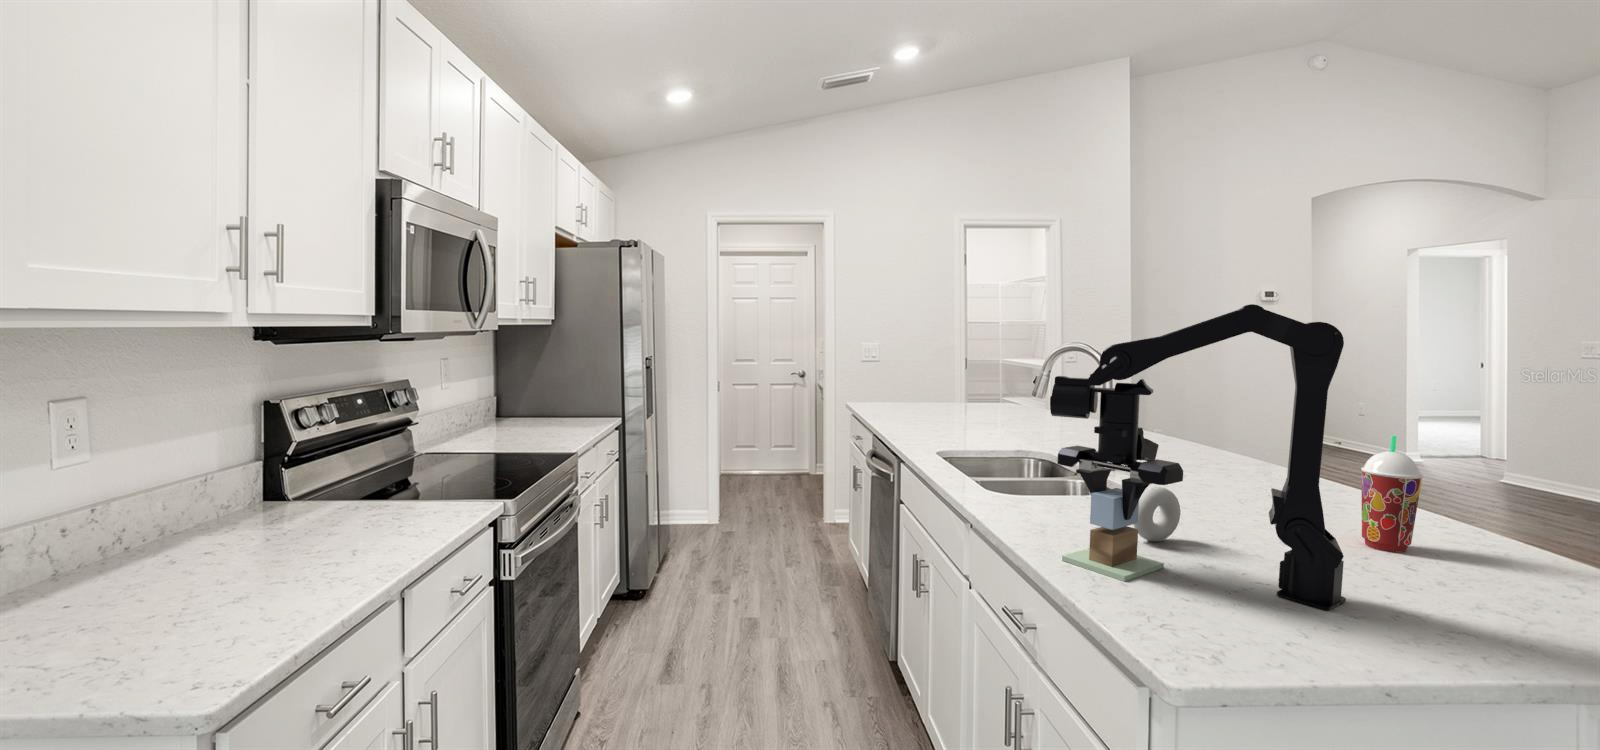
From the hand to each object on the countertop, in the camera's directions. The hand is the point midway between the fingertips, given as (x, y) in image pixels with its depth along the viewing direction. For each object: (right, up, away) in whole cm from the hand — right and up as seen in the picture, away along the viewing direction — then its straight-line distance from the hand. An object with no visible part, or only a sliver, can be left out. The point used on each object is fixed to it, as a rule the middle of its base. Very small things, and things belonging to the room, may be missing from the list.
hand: (1114, 516), depth 115 cm
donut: (+13, -7, +13) cm, 20 cm away
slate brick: (0, -1, 0) cm, 1 cm away
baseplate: (0, -8, +1) cm, 8 cm away
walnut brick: (0, -7, +1) cm, 7 cm away
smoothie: (+53, -8, +11) cm, 55 cm away
